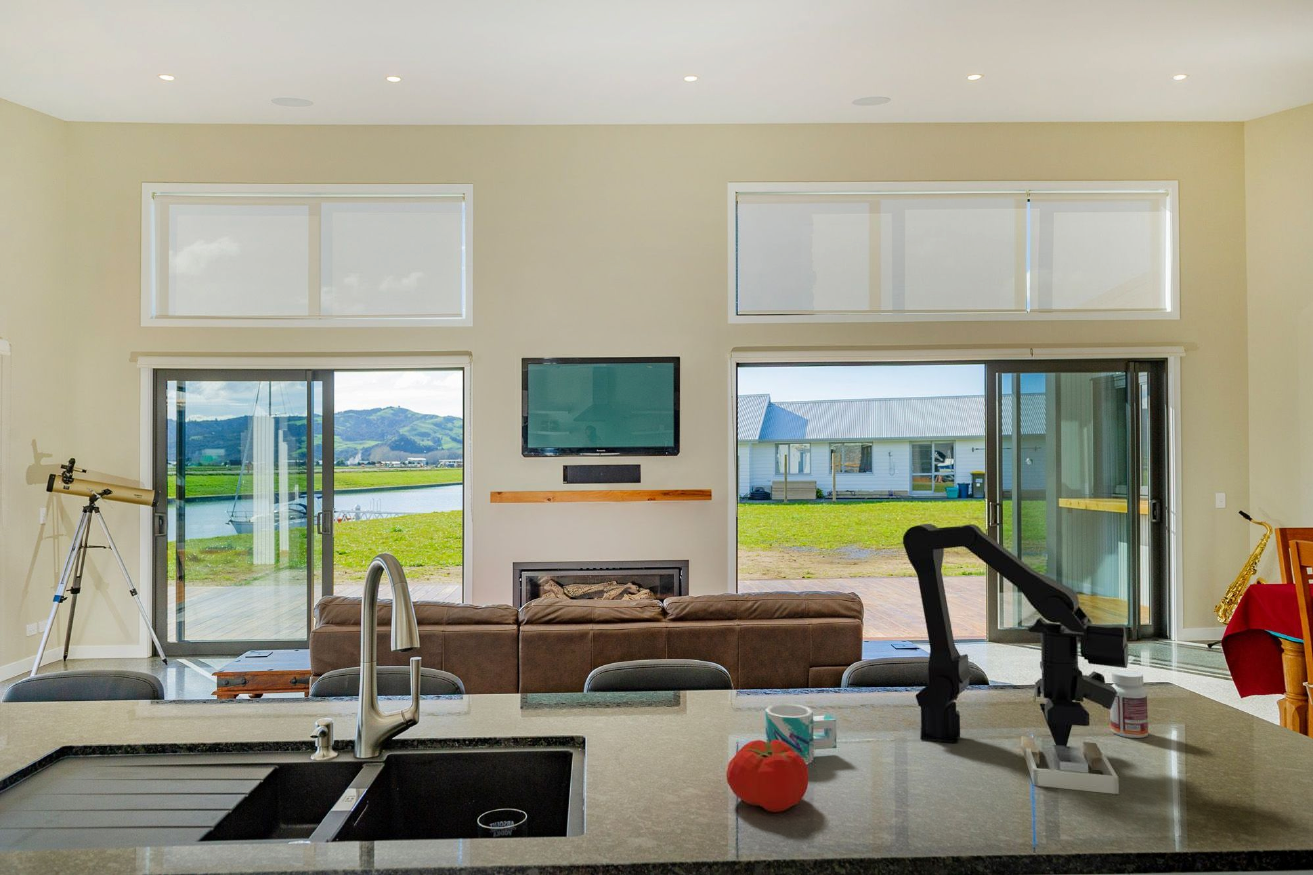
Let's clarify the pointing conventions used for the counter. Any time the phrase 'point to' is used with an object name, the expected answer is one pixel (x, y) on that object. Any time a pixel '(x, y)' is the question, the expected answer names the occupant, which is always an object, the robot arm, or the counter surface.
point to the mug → (800, 729)
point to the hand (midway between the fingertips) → (1061, 751)
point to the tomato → (768, 775)
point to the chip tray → (1074, 777)
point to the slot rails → (1089, 751)
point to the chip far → (1064, 752)
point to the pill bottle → (1129, 705)
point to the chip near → (1071, 763)
